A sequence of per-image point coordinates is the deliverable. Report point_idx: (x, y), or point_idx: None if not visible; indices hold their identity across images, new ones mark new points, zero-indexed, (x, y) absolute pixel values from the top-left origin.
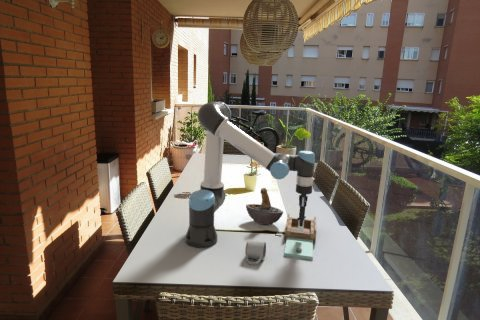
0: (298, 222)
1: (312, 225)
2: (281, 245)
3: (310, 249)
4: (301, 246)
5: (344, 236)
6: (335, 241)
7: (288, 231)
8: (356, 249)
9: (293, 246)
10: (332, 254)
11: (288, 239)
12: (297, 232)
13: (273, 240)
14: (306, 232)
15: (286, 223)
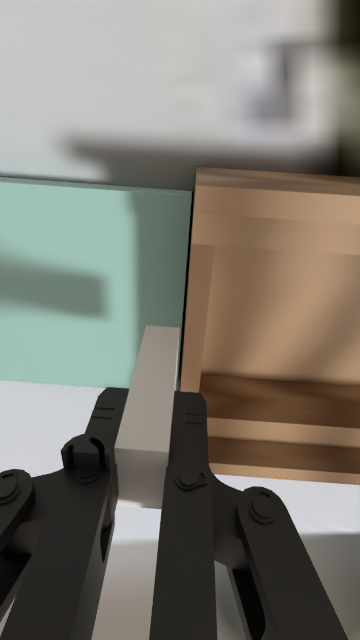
0: (126, 403)
1: (354, 438)
2: (52, 135)
3: (21, 368)
4: (39, 315)
5: (293, 520)
6: (223, 481)
7: (193, 221)
8: (152, 534)
9: (9, 254)
10: (58, 452)
11: (135, 210)
12: (190, 313)
13: (139, 26)
14: (327, 359)
15: (342, 201)
